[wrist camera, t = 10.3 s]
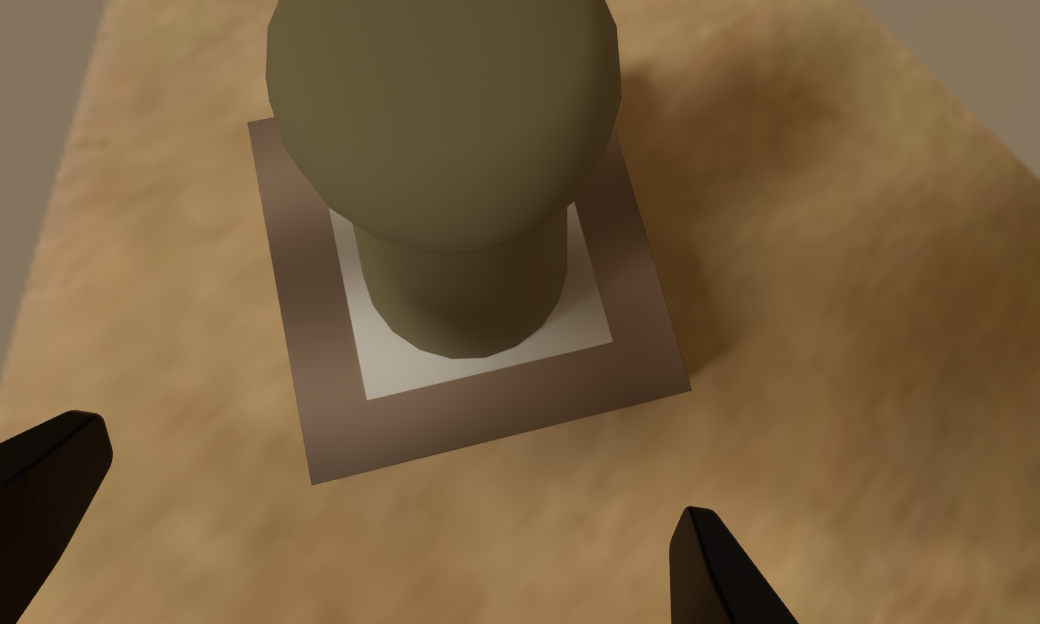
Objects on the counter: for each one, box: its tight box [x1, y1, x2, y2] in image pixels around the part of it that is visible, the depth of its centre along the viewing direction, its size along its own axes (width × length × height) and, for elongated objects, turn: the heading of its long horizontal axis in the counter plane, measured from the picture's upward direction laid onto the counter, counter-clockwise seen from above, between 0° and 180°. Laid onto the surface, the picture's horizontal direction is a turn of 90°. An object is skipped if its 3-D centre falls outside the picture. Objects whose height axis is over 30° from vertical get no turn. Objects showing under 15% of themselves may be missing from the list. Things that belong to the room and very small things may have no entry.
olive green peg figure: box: [266, 0, 621, 359], centre depth 13 cm, size 6×6×11 cm
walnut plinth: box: [248, 117, 692, 485], centre depth 20 cm, size 11×11×3 cm
